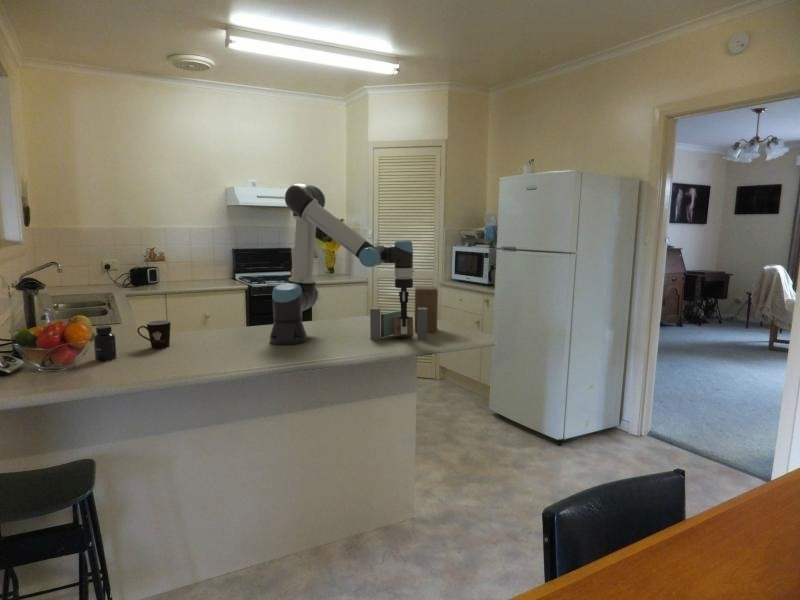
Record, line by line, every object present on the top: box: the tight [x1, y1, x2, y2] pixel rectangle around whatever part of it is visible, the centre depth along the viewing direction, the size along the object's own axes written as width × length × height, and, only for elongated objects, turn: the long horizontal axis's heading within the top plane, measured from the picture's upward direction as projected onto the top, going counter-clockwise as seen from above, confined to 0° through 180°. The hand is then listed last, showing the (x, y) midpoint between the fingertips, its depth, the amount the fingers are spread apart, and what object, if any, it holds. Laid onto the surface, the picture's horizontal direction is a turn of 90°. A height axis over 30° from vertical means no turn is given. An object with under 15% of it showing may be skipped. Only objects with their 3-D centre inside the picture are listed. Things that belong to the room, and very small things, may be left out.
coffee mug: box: [137, 319, 172, 350], centre depth 203 cm, size 12×9×10 cm
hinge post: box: [369, 306, 381, 340], centre depth 218 cm, size 4×4×13 cm
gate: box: [380, 309, 401, 338], centre depth 224 cm, size 15×1×10 cm, turn 137°
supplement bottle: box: [93, 325, 117, 362], centre depth 186 cm, size 7×7×12 cm
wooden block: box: [414, 285, 439, 334], centre depth 232 cm, size 10×10×20 cm
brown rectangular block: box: [393, 316, 415, 338], centre depth 219 cm, size 8×5×8 cm, turn 95°
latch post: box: [416, 308, 428, 340], centre depth 218 cm, size 4×4×13 cm
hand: (404, 333), depth 216 cm, fingers closed
